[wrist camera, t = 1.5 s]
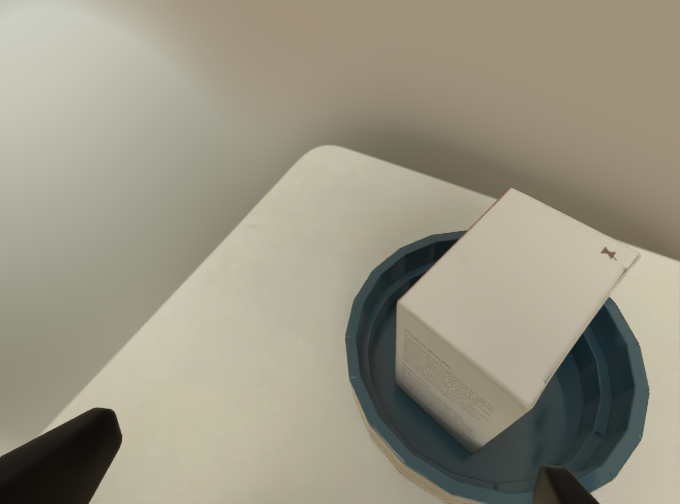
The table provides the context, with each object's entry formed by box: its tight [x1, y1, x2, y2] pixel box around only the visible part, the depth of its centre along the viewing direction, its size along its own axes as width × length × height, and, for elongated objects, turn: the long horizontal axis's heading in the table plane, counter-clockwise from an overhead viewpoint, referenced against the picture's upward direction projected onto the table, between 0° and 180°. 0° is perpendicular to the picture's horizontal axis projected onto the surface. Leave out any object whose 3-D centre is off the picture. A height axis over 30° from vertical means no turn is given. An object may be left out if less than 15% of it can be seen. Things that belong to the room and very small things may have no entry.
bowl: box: [345, 230, 649, 504], centre depth 21 cm, size 14×14×4 cm
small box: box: [395, 188, 641, 454], centre depth 18 cm, size 8×6×10 cm
